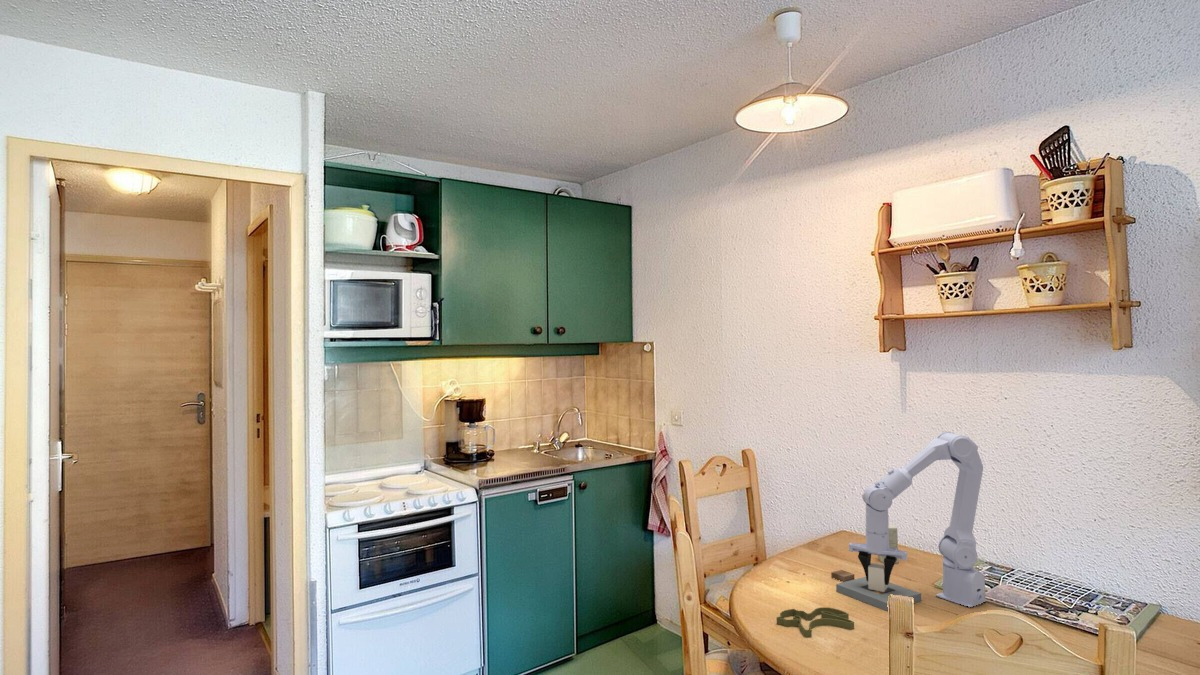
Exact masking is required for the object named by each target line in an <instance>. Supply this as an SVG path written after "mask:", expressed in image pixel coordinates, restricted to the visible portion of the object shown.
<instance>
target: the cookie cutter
mask: <svg viewBox="0 0 1200 675" xmlns="http://www.w3.org/2000/svg"><path fill="white" fill-rule="evenodd" d="M819 615H820V617H821V618H816V617H818V616H819ZM789 617H792V618H791V619H786V618H789ZM802 618H803V620H805V621H810V622H809V623H808V629H806V628H805V627H804V625H803V624H802ZM814 618H816V619H814ZM849 618H850V617H849V613H848V612H846V611H843V610H840V609H837V608H832V607H825V606H824V607H823V606H822V607H818V608H815V609H814V610H812V611H811V612H809V613H807V612H806V611H805V610H798V609H795V608H790V609H789V608H788V609H785V610H783V611H780V613H779V616H776V625H778V626H783V627H788V628H791V627H795V628H799V631H800V633H801V635H802V636H803V637H804V638H813V637H812V634H813V633H812V629H814V628H816V627H822V626H831V627H837V628H841V629H842V628H843V629H845V630H848V631H850V630H854V629H855V622H854V621H853V620H850V619H849Z"/></svg>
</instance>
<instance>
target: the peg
mask: <svg viewBox="0 0 1200 675" xmlns="http://www.w3.org/2000/svg"><path fill="white" fill-rule="evenodd" d="M868 589H871V590H874V591H877V592H879V591H881V592H880V593H882V592H885V590H886V589H887V585H885V566H884V564H883V563H882V564H881V563H875V562H871V564H870V565H869V566H868Z"/></svg>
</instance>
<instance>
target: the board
mask: <svg viewBox="0 0 1200 675" xmlns="http://www.w3.org/2000/svg"><path fill="white" fill-rule="evenodd" d="M835 586H836V587H835V589H836V590H835V591H836V593H840V594H841V595H845V596H848V597H849V598H853V599H855V600H858V601H860V602H863V603H865V604H868V605H871V606H873V607H875V608H879V609H880V610H883V611H886V612H889V611H888V607H887V601H888V596H889V595H890V594H893V595H902V596H908V597H913V598H914V602H915V603H914V604H916V603H919V602H920V603H921V602H922V592H919V591H916V590H913V589H910V588H907V587H905V586H901V585H898V584H895V583H893V582H890V581H889V584H888V585H887V589H886V590H885V592H881V591H878V592H880V593H877V592H874V591H875V590H871V589H868V581H867V580H866V576H863V577H859V578H854V580H850V581H846V582H839V583H836V584H835Z"/></svg>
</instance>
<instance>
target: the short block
mask: <svg viewBox="0 0 1200 675" xmlns="http://www.w3.org/2000/svg"><path fill="white" fill-rule="evenodd" d="M830 575H831V578H830V579H833V578H835V579H834V580H836V579H837V580H836V581H838V580H840V581H839V582H841V581H843V582H846V581H850V580H854V579H855V573H853V572H849V571H846V570H843V569H840V570H836V571H831V574H830ZM843 582H842V583H843Z"/></svg>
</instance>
